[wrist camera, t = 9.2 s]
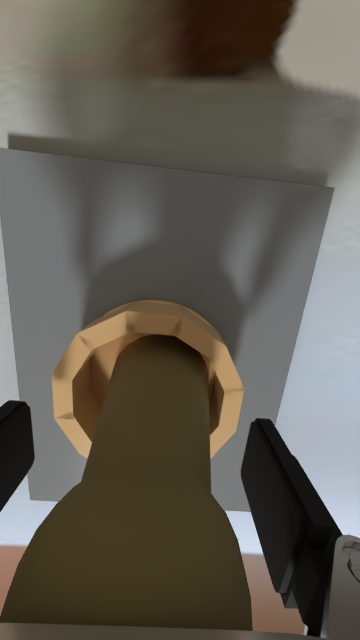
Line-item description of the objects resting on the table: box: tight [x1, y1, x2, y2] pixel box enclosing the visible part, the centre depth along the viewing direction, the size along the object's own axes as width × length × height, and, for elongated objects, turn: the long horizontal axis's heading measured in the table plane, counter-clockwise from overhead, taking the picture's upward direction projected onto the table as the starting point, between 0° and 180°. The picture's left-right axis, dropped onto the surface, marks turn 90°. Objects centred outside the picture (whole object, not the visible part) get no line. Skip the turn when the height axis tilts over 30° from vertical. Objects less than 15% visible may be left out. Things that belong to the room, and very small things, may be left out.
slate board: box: [0, 148, 334, 512], centre depth 15 cm, size 18×24×1 cm
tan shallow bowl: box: [52, 299, 244, 459], centre depth 13 cm, size 10×10×3 cm
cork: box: [0, 334, 253, 631], centre depth 9 cm, size 6×6×11 cm
